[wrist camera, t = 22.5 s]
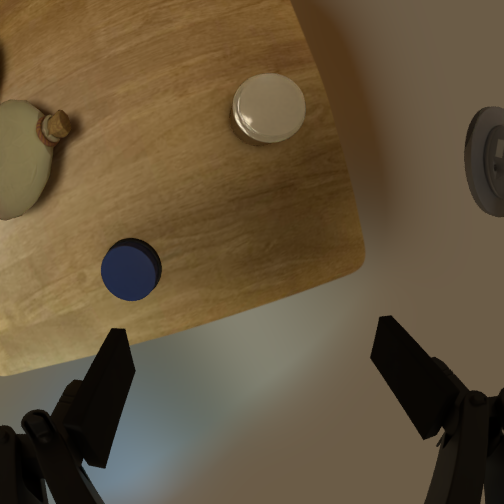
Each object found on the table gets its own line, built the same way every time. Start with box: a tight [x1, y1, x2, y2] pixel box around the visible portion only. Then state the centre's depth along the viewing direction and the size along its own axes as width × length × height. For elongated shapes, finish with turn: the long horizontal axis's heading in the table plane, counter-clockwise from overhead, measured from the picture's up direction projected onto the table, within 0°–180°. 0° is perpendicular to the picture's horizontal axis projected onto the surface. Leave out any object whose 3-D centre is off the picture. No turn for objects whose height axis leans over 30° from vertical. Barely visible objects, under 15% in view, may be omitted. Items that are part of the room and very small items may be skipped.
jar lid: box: [101, 241, 159, 301], centre depth 37 cm, size 8×8×2 cm
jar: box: [229, 73, 306, 146], centre depth 30 cm, size 7×7×11 cm
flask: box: [0, 100, 71, 220], centre depth 28 cm, size 9×16×18 cm
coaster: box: [107, 238, 162, 290], centre depth 38 cm, size 8×8×1 cm
